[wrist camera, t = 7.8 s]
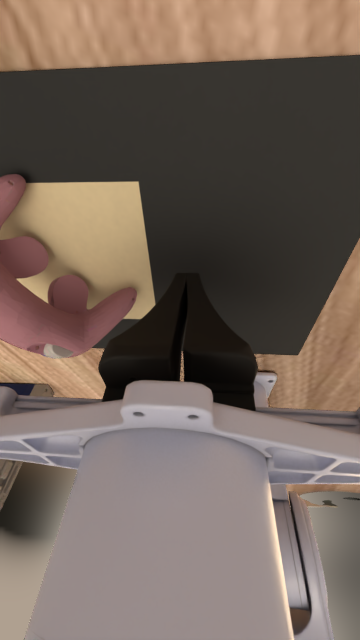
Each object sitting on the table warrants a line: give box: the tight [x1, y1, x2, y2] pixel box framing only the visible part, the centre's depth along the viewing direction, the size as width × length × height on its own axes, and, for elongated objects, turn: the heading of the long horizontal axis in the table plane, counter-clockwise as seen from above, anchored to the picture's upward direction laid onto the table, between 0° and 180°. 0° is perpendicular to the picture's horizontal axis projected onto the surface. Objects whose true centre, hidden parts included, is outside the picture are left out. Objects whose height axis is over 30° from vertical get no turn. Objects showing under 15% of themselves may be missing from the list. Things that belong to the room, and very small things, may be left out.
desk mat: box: [0, 55, 360, 355], centre depth 16 cm, size 18×26×1 cm
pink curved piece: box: [0, 174, 137, 358], centre depth 14 cm, size 10×5×7 cm, turn 35°
